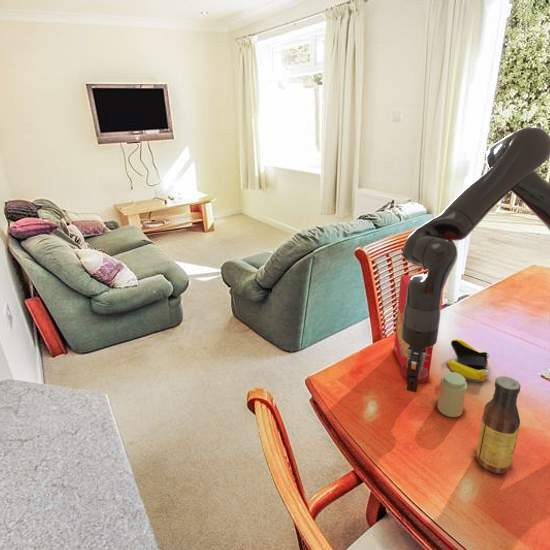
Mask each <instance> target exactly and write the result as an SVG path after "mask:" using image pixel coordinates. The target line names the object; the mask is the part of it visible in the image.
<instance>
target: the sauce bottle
mask: <svg viewBox="0 0 550 550" xmlns="http://www.w3.org/2000/svg"><path fill="white" fill-rule="evenodd" d="M520 391H521V384H520V382H519V381H518V380H517V379H515V378H513V377H509V376H505V375H504V376H503V375H502V376H498V377H496V378H495V381H494V393H493V396H492V399H491V400H490V401H488V402H487V403H486V404H485V405H484V409H483V415H482V416H481V423H480V427H479V434H478V439H477V445H476V453H475V454H476V459H477V462H478V464H479V466H481V467H482V468H484V469H485V470H487V471H488V472H491V473H494V474H504V473H507V471H508V470H509V469H510V467H511V465H512V462H513V458H514V453H515V448H516V445H517V440H518V435H519V431H520V425H521V419H520V415H519V410H518V406H517V405H518V404H517V399H518V395H519V394H520V393H521V392H520Z"/></svg>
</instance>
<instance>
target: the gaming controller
mask: <svg viewBox="0 0 550 550" xmlns="http://www.w3.org/2000/svg"><path fill="white" fill-rule="evenodd" d="M450 346H451V348H452V349H453V351H454V353H455V356H456V358H457V360H456V361H455V360H453V359H451V360H447V361H446V363H445V366H446V368H447V369H448V370H449V372H454V373H458V374H460V375H462V376H463V377H464V378H465V380H467V381H470V382H472V383H477V382H479V383H481V382H483V381H486V380H487V377H488V373H489V369H487V368H488V365H489V361H488V359H489V357H490V353H489V352H487V351H483V350H482V351H481V350H477V349H475V347H473V346H471V345H470V344H469V343H467V341H464V340H463V339H461V338H457V337H456V338H454V339H452V340H451V342H450Z"/></svg>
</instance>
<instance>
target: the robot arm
mask: <svg viewBox="0 0 550 550" xmlns="http://www.w3.org/2000/svg"><path fill="white" fill-rule="evenodd" d="M549 158H550V135H549V133H548V132H547V131H545V129H543V128H542V127H538V126H532V125H531V126H525V127H523V128H520V129H518V130H516V131H514V132H512V133H510V134H509V135H507V136H505V137H504V138H502V139H501V140H499V141H497V142H495V143H494V144H493V145H491V146H490V147H489V149H488V150H487V152H486V157H485V159H486V164H487V167H488V168H489V170H487V171H486V172H485V173H483V175H481V176H480V177H479V178H478V179H476V180H475V181H474V182H473V183H472V184H470V185H469V186H468V187H466V188H465V189H464V190H463V191H461V193H459V195H457V196H456V197H455V198H454V199H453V200H452V201H451V202H450V203H449V205H447V207H446V208H445V209H444V210H443V211H442V212H441V213H440V214H439V215H438V216H435V217H434V218H432V219H430V220H429V221H427V222H425V223H424V224H422V225H421V226H419V227H417V228H416V229H415V230H414V231H412V233H410V234H409V235H408V237H407V238H406V240H405V241H404V243H403V247H402V256H403V258H404V259H405V261H406V262H408V263H410V264H411V265H414V266H416V267H419V268H422V269H426V270H427V274H415V275H416V276H413V277H412V278H411V279H410V280H409V282H408V289H407V298H406V305H405V309H404V316H403V326H402V339H403V340H404V341H405V342H406V343H407V344H409V347H408V351H407V355H408V359H407V377H406V380H405V381H406V391H408V392H411V393H417V391H418V385H419V384H418V382H419V378H420V377H419V374H420V371H422V369H423V363H424V359H425V357H426V352H427V348H428V347H431V346H433V347H434V346H435V345H436V343H437V342H438V335H439V328H440V322H441V321H440V320H441V305H442V299H443V291H444V288H445V286H446V284H447V281H448V279H449V277H450V275H451V272H452V270H453V269H454V266H456V265H455V264H456V263H457V260H458V255H459V254H458V253H459V252H458V249H457V248H458V247H457V245H456V244H455V241H458V242H460V241H463V240H464V239H466V238H467V237H468V236H470V234H471V233H472V232H473V231H474V229H475V228H476V227H477V226H478V225H479V224H480V223H481V222H482V221H483V220H484V219H485V217H487V215H488V214H489V213H490V212H491V211H492V210H493V208H494V207H495V206H497V204H499V202H501V201H502V199H504V198H505V197H506V196H507V195H508V194H509V193H510V192H512V193H513V194H514V195H515V196H516V197H517V198H518V199H520V200H521V201H522V203H524V204H525V206H526V207H528V209H530V211H531V212H532V213H533V214H534V215H535V216H536V217H537V218H538V219H539V220H540V222H542V224H543V225H544V226H545V227H546V228H547V229H548V231H549V232H550V182H549V181H547V180H546V179H545V178H543V177H542V176H541V175H540V174H539V173H538V172H537V170H538V169H539V168H540V167H541V166H543V165H544V164H545V163H546V162H547V161H548V160H549ZM410 358H411V360H410Z"/></svg>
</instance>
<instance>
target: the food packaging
mask: <svg viewBox="0 0 550 550" xmlns="http://www.w3.org/2000/svg"><path fill="white" fill-rule="evenodd" d="M416 275H417V274H409V275H407V274H403V275H400V279H399V280H400V281H399V292H398V304H397V314H396V324H395V337H394V347H393V352H394V353H395V356H396V358H397V361H398V363H399V365H400V367H401V368H402V366H403V365H405V364H407V359H408V355H407V351H408V347H409V344H407V343H406V342H405V341H404V340H403V339H402V326H403V316H404V309H405V305H406V298H407V289H408V282H409V280H410V279H411V278H412V277H413V276H416ZM433 350H434V345H433V346H431V347H428V348H427V352H426V357H425V359H424V363H423V367H425V368H426V369H427V371H428V378H427V380H426V381H425V382H424V383H428V382H429V380H430V379H429V378H430V369H431V363H432V356H433ZM410 360H411V358H410Z"/></svg>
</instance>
